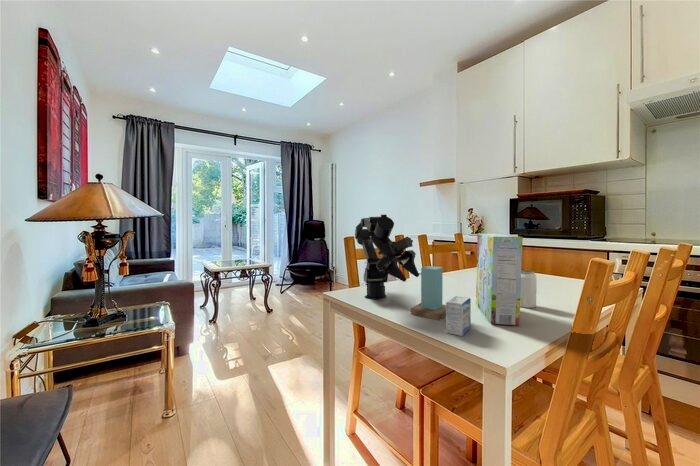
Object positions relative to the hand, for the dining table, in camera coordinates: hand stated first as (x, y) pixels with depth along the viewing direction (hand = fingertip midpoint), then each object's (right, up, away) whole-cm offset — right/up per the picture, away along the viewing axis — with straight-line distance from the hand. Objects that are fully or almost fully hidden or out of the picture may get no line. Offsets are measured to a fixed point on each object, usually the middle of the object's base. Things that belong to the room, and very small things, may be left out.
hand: (412, 278), depth 102 cm
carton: (+6, -9, -4) cm, 11 cm away
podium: (+6, -11, -4) cm, 13 cm away
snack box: (+26, -11, -6) cm, 29 cm away
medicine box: (+9, -12, -20) cm, 24 cm away
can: (+40, -10, +3) cm, 42 cm away
